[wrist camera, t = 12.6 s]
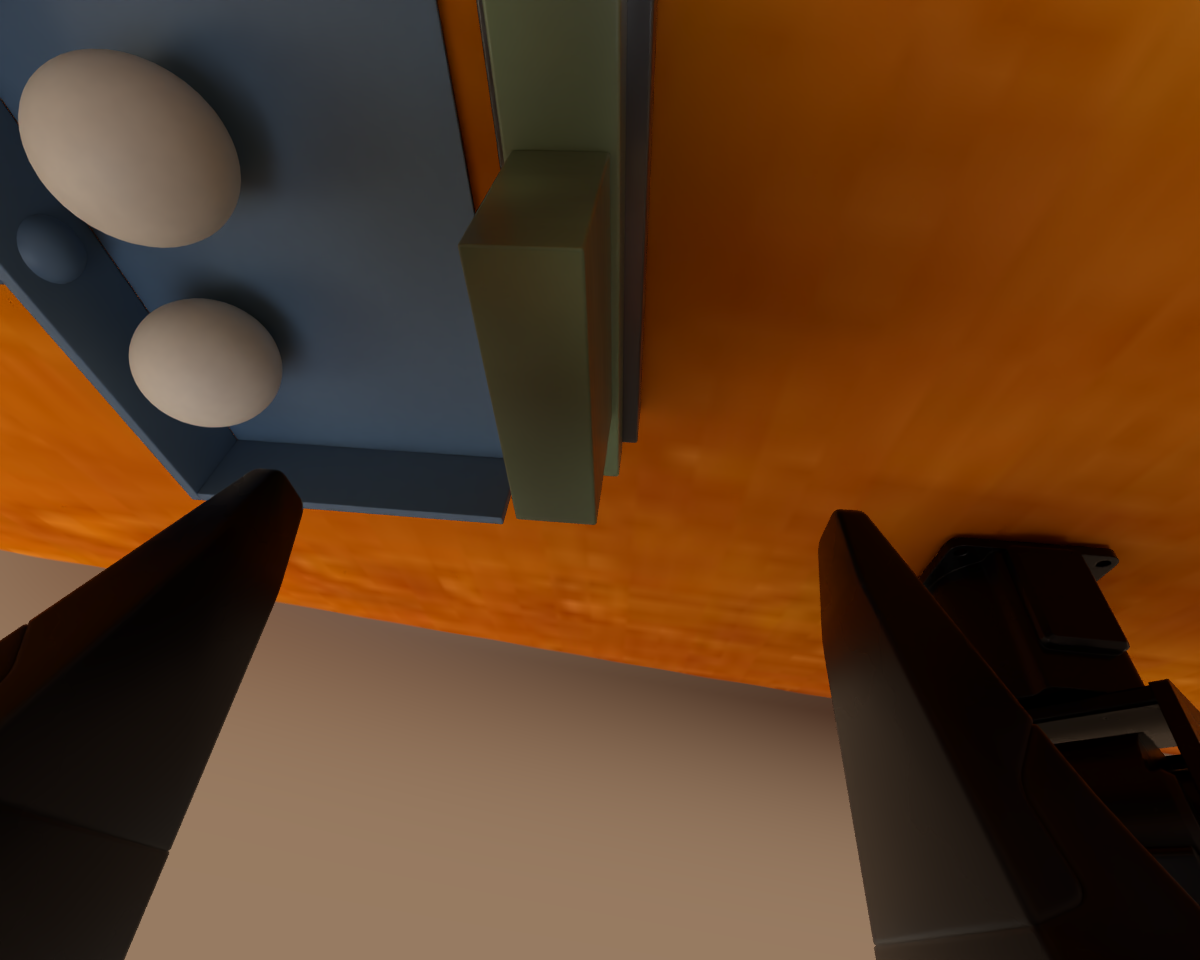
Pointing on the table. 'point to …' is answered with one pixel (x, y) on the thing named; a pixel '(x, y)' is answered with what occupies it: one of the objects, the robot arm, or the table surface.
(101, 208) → the crumb
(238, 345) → the crumb
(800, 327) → the table surface
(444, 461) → the dustpan
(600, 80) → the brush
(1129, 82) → the table surface
